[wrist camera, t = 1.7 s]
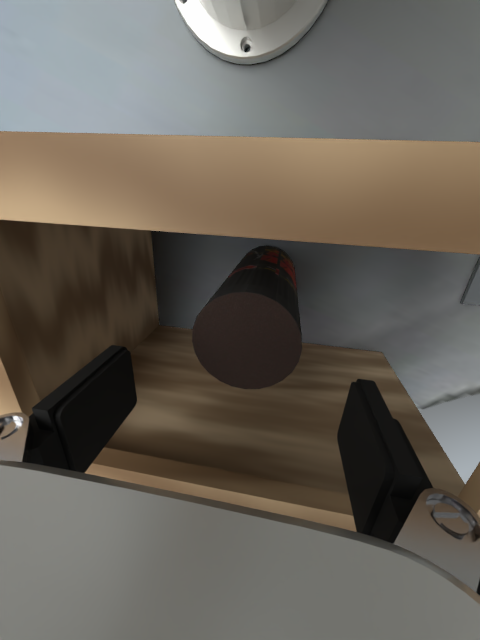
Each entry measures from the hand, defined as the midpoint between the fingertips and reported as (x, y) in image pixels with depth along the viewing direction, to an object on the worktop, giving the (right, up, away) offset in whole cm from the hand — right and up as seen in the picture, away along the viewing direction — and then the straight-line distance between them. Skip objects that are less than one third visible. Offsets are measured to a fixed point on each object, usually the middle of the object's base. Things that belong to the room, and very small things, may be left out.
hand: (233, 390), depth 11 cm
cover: (+3, +8, +16) cm, 18 cm away
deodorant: (+3, +8, +17) cm, 19 cm away
